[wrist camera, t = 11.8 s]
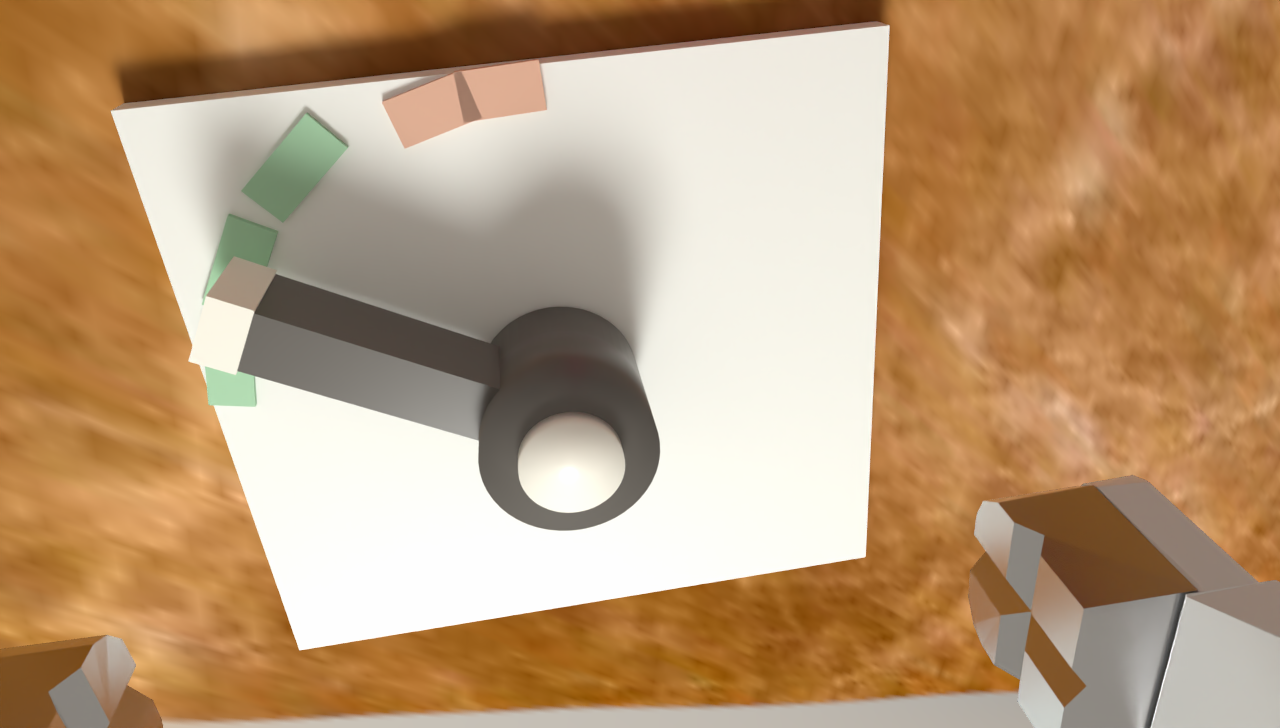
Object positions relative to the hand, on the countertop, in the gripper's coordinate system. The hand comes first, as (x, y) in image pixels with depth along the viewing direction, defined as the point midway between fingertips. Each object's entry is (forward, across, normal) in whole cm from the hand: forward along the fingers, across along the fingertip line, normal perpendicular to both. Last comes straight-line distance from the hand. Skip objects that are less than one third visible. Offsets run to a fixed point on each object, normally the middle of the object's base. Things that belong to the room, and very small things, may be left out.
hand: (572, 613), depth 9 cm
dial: (+20, +4, +6) cm, 21 cm away
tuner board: (+21, 0, +8) cm, 23 cm away
